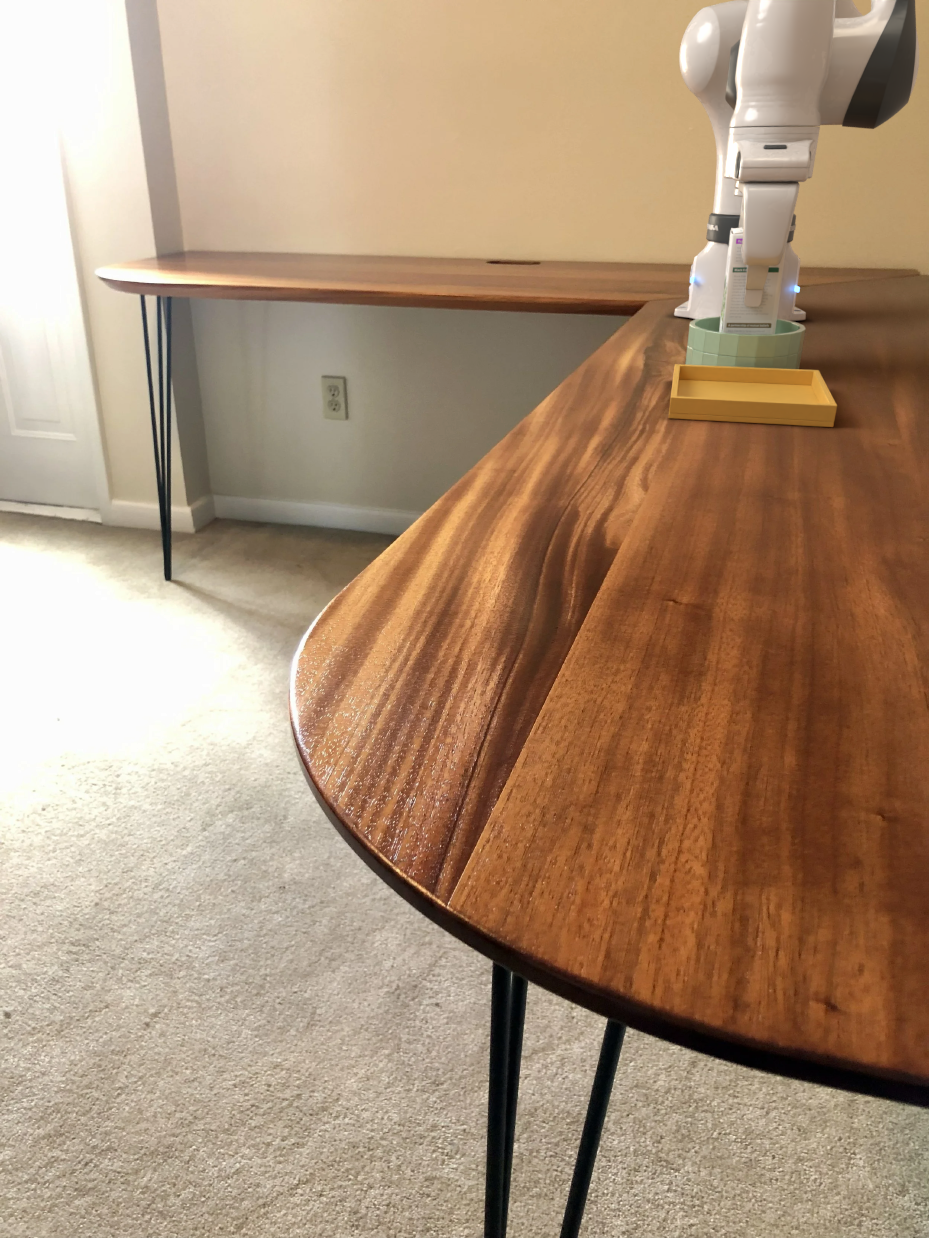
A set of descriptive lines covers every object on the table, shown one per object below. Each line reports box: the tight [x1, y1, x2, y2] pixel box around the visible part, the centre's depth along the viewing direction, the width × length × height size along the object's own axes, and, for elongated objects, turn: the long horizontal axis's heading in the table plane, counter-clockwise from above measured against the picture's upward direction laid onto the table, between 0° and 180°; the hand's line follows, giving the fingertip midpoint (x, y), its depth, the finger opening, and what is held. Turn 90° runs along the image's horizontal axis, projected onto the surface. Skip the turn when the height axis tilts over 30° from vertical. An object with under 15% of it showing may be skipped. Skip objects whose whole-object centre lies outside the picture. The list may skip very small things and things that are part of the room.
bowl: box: [684, 316, 807, 369], centre depth 100 cm, size 12×12×5 cm
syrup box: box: [719, 228, 787, 335], centre depth 97 cm, size 6×6×14 cm
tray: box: [667, 363, 838, 428], centre depth 88 cm, size 15×15×2 cm
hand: (750, 301), depth 97 cm, fingers closed on syrup box, 6 cm apart
